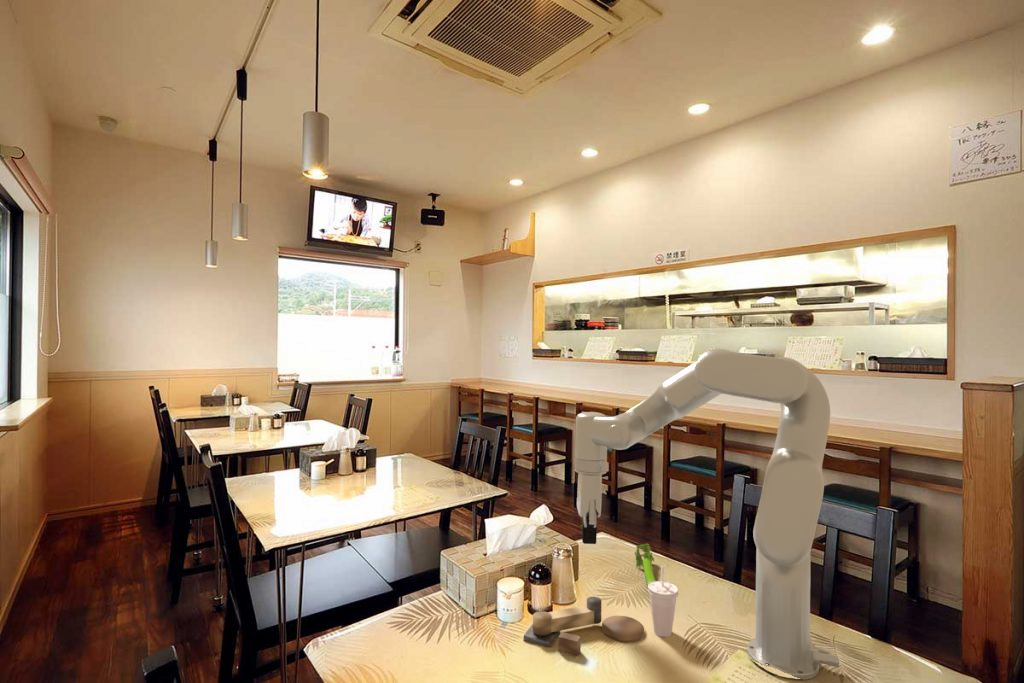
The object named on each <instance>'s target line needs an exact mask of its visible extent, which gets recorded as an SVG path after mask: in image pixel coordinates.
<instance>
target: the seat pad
mask: <svg viewBox="0 0 1024 683" xmlns="http://www.w3.org/2000/svg"><path fill="white" fill-rule="evenodd" d="M601 622H602V623H601V630H602V632H603V634H604V635H605V636H607V637H608V638H610V639H611V640H614V641H618V642H623V643H632V642H637V641H639V640H642V638H643V637H644V636H645V627H644V625H643V624H642V623H641V622H640V621H639V620H637V619H635V618H633V617H630V616H626V615H612V616H608V617H606V618H604V619H603V621H601Z"/></svg>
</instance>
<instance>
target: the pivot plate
mask: <svg viewBox="0 0 1024 683" xmlns="http://www.w3.org/2000/svg"><path fill="white" fill-rule="evenodd" d="M560 634H561V631H556V632H551V633H550V634H548V635H545V636H541V635H537V634H535V633H534V632H533V623H532V624H531V625H530V626H529V628H528V629H527V630H526V632H525V633H524V634H523V641H524V642H525V641H526V642H529V643H533V644H537V645H540V646H543V647H547V648H552V645H554V642H556V640H557V638H559V635H560Z"/></svg>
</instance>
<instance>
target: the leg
mask: <svg viewBox="0 0 1024 683" xmlns="http://www.w3.org/2000/svg"><path fill="white" fill-rule="evenodd" d="M601 622H602V599H601V598H599V597H597V596H589V597H587V599H586V604H585V605H580V606H576V607H575V606H574V607H571V608H563V609H559V610H554V611H549V612H547V611H542V610H541V611H536V612H534V613H533V614H532V624H533V632H534V633H535V634H537V635H541V636H545V635H548V634H550V633H551V632H556V631H560V632H562V631H567V630H570V629H576V628H581V627H585V626H591V625H599V624H600V623H601ZM601 624H602V623H601Z"/></svg>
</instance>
